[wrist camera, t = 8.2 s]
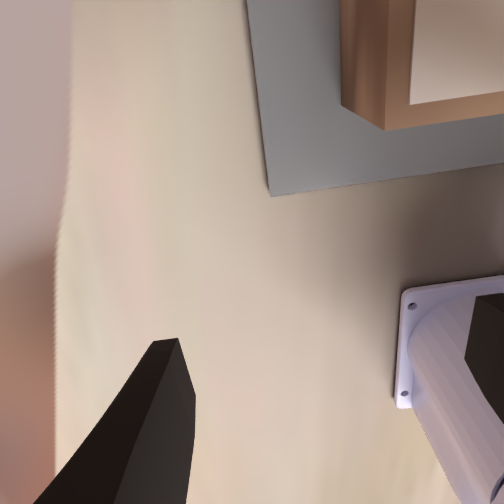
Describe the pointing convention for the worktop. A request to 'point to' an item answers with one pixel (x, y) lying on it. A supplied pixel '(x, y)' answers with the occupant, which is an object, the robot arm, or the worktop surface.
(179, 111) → the worktop surface
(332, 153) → the coaster
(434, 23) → the box stamped
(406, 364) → the robot arm
